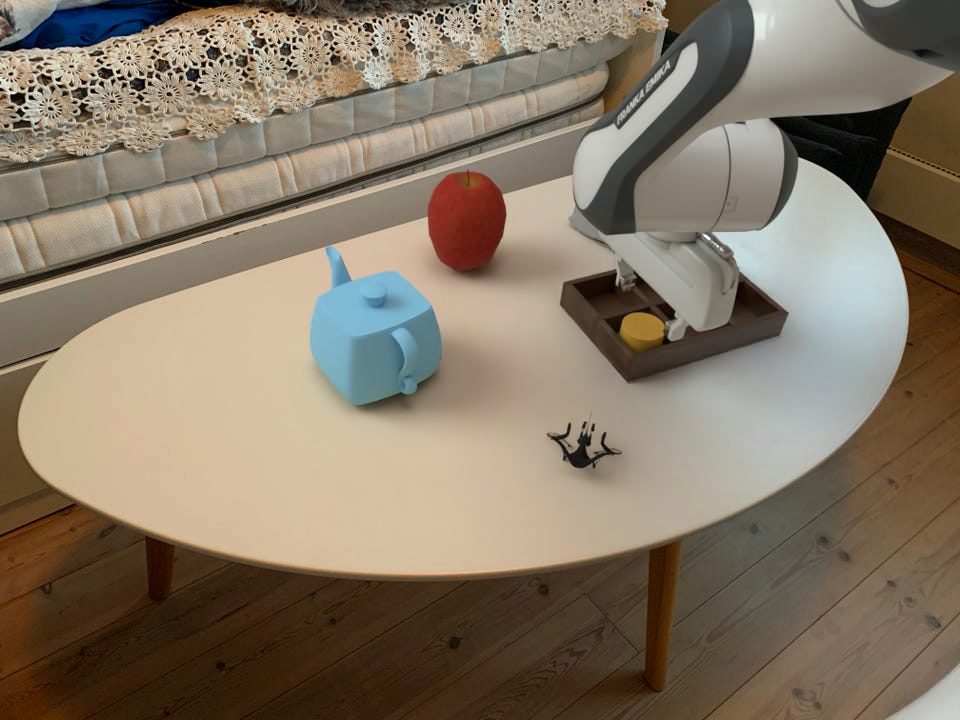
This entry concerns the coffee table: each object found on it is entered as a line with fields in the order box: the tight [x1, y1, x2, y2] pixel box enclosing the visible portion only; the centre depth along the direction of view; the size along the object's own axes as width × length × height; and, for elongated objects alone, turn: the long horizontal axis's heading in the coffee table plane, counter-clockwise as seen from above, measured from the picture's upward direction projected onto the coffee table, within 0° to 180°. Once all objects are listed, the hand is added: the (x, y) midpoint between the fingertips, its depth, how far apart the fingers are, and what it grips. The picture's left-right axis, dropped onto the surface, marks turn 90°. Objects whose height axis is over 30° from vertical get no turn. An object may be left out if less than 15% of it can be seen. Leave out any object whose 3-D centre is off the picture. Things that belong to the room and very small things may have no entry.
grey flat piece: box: [568, 204, 615, 254], centre depth 108 cm, size 6×1×10 cm
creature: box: [546, 411, 622, 470], centre depth 78 cm, size 8×5×8 cm
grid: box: [559, 268, 790, 383], centre depth 96 cm, size 15×23×4 cm
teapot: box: [309, 245, 443, 406], centre depth 84 cm, size 12×18×12 cm
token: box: [619, 312, 665, 354], centre depth 90 cm, size 5×5×3 cm
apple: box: [427, 168, 508, 272], centre depth 99 cm, size 10×10×14 cm
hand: (647, 311), depth 88 cm, fingers open, 8 cm apart
